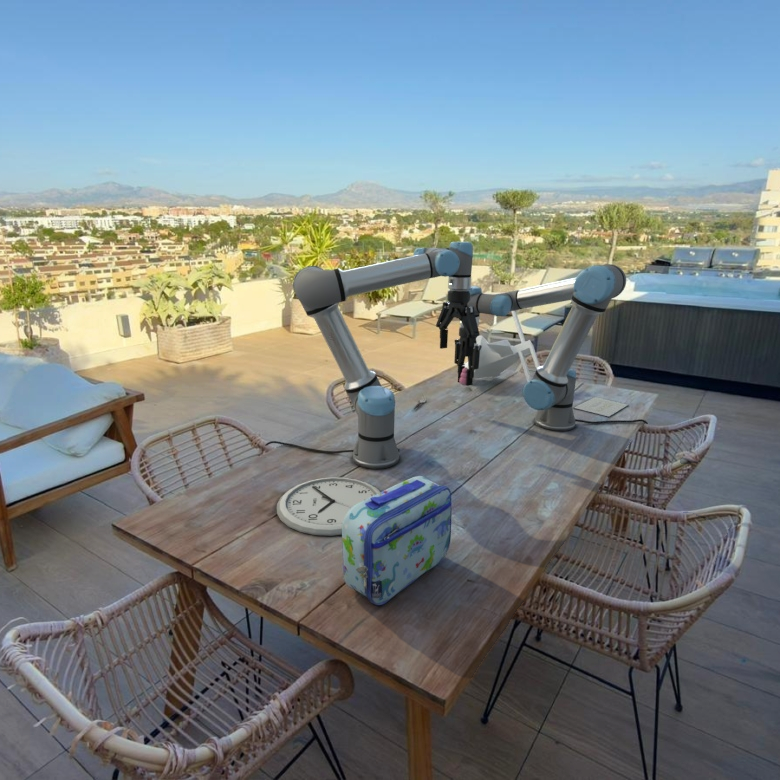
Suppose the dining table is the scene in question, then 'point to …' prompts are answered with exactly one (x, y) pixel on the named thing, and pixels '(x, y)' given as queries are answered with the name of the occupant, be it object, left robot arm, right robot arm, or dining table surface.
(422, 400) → the fork
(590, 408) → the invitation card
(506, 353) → the white plastic object
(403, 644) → the dining table surface
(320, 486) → the wall clock
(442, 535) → the lunch box
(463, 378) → the dog chew toy
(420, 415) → the dining table surface
